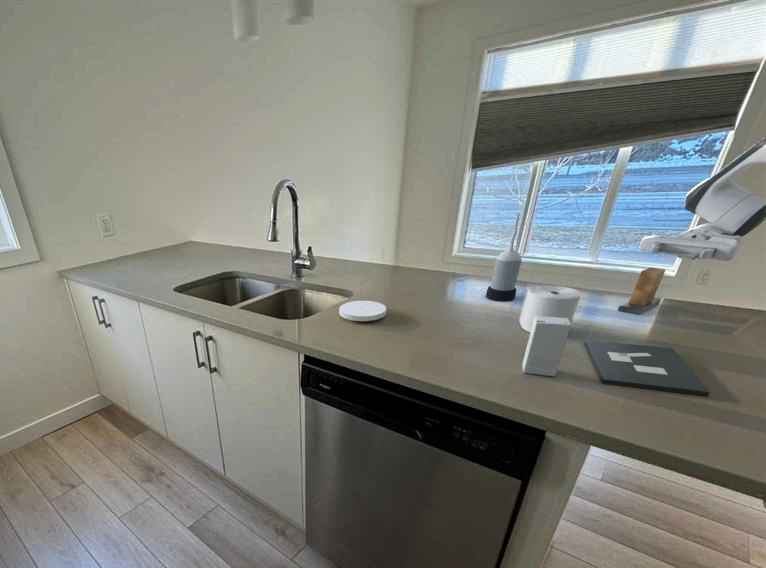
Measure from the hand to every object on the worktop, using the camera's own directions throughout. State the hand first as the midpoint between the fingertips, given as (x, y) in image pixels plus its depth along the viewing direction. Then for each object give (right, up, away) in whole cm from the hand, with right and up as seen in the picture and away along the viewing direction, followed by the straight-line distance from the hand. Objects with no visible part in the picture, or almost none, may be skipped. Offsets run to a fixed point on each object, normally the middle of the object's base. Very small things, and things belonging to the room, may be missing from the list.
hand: (675, 252), depth 112 cm
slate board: (-35, -33, -25) cm, 54 cm away
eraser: (-9, -15, +1) cm, 18 cm away
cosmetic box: (-55, -34, -23) cm, 69 cm away
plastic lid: (-84, -16, +13) cm, 87 cm away
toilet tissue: (-41, -22, -5) cm, 47 cm away
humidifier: (-39, -9, +17) cm, 43 cm away
